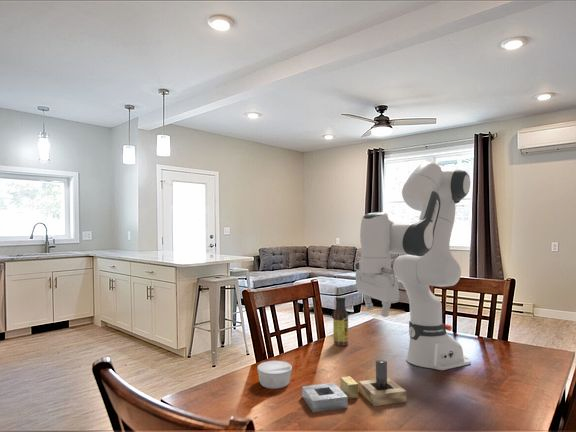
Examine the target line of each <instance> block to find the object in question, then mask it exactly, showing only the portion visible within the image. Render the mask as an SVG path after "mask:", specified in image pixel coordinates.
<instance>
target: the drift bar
mask: <svg viewBox="0 0 576 432" xmlns="http://www.w3.org/2000/svg"><path fill="white" fill-rule="evenodd" d="M340 389H341V390H342V391H343V392H344V393H345V395H346V396H347V397H348V400H352V399H359V382H357V381H356V380H354V379H353V377H351V376H349V375H348V376H340Z"/></svg>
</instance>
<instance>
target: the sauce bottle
mask: <svg viewBox="0 0 576 432" xmlns="http://www.w3.org/2000/svg"><path fill="white" fill-rule="evenodd" d="M335 304H336V305H335V309H334V311H333V320H332V321H333V325H332V327H333V329H332V330H333V344H334V345H335V346H339V347H343V346H348V345H349V315H348V311H347V308H346V296H344V295H337V296H335Z"/></svg>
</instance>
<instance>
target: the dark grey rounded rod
mask: <svg viewBox="0 0 576 432" xmlns="http://www.w3.org/2000/svg"><path fill="white" fill-rule="evenodd" d="M387 378H388V362H387V360H383V359H377V360H375V379H376V389H377V390H386V389H387Z"/></svg>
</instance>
